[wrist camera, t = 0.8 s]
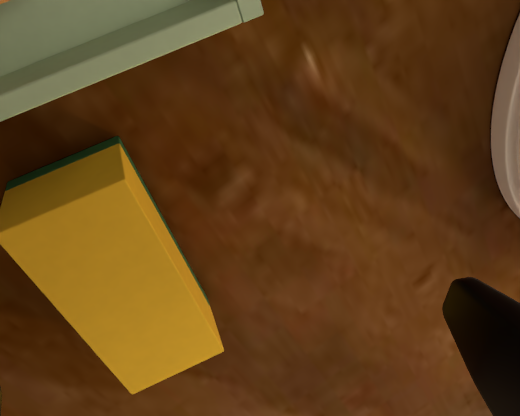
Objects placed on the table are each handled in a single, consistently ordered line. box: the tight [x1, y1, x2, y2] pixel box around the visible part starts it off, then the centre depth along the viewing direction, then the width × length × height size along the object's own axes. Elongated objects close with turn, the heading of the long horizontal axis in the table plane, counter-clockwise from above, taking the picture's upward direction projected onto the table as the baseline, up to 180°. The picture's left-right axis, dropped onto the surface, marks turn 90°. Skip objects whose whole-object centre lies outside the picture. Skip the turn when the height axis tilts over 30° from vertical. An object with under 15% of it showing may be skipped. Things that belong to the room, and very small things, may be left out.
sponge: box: [0, 136, 224, 394], centre depth 21 cm, size 5×11×4 cm, turn 17°
